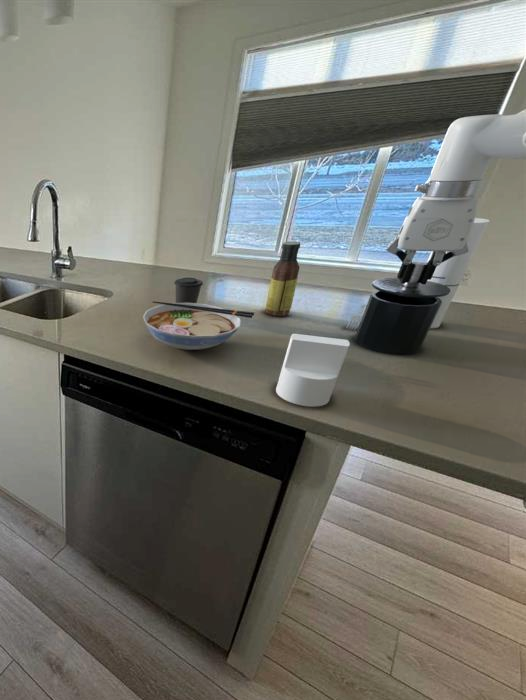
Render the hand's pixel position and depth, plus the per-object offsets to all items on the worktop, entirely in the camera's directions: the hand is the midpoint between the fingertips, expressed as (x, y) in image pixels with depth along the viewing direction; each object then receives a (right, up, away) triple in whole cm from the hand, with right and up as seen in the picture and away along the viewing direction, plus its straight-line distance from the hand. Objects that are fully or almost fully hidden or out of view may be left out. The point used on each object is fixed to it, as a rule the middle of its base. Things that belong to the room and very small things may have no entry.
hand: (412, 281), depth 88 cm
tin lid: (0, -1, +1) cm, 2 cm away
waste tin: (+1, -13, +8) cm, 15 cm away
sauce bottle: (-11, -2, +29) cm, 31 cm away
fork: (+7, -5, +21) cm, 23 cm away
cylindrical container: (+18, -7, +16) cm, 25 cm away
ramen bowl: (-43, -12, +16) cm, 47 cm away
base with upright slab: (-30, -25, -7) cm, 39 cm away
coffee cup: (-35, 0, +36) cm, 50 cm away
